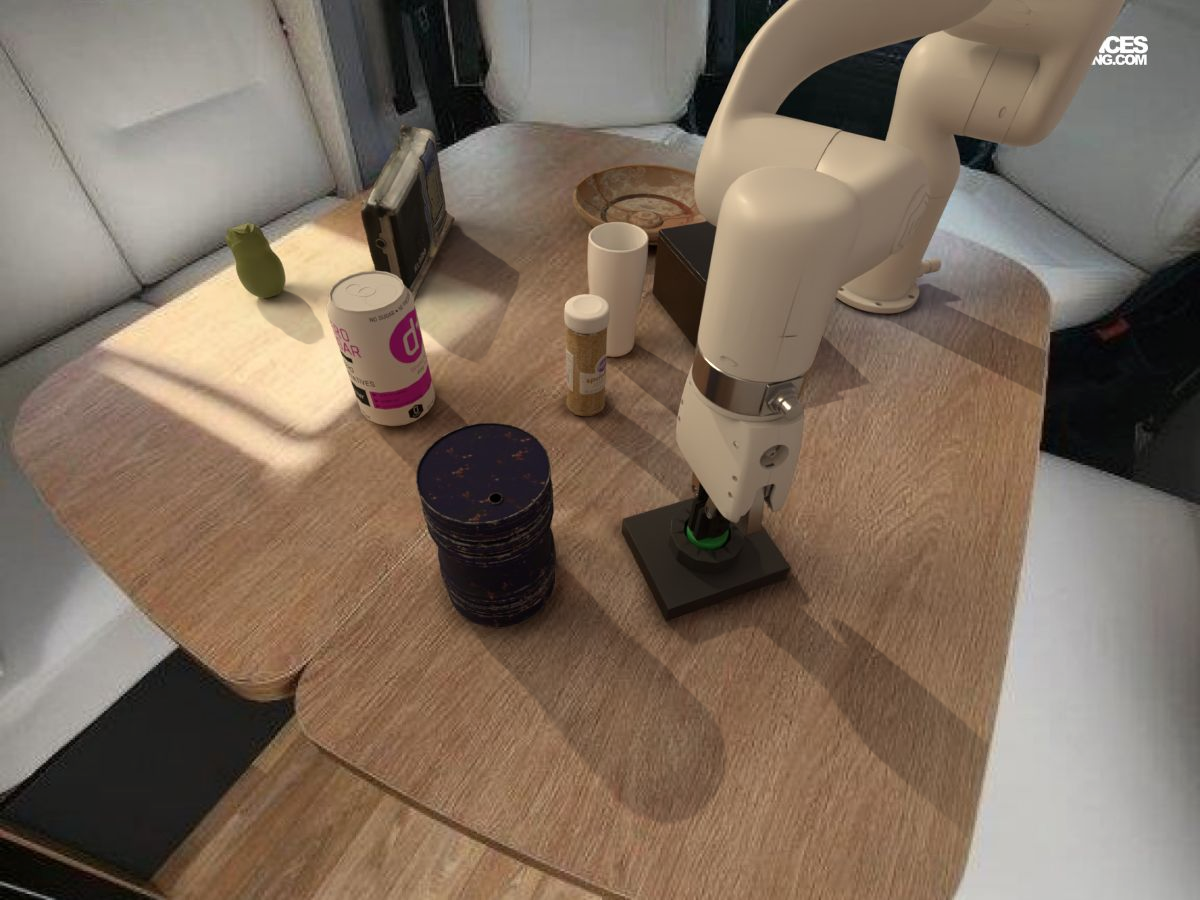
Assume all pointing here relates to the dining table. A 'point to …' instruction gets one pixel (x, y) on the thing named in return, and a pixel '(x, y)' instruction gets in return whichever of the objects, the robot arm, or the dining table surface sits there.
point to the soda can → (382, 346)
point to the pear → (256, 261)
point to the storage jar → (491, 521)
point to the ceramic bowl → (638, 198)
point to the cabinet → (684, 273)
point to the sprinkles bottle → (586, 353)
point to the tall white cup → (618, 278)
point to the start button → (707, 541)
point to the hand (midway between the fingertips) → (707, 529)
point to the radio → (407, 210)
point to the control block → (698, 561)
